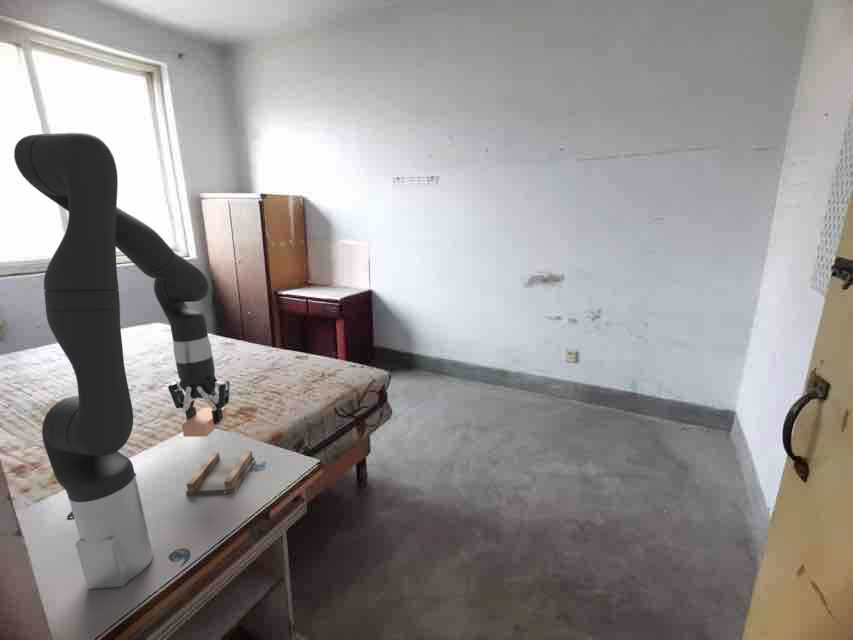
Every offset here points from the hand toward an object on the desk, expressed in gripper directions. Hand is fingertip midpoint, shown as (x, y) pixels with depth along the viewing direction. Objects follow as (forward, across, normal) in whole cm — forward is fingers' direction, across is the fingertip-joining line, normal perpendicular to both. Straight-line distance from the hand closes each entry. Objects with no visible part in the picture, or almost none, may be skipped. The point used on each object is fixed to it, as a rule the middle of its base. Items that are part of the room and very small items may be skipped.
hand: (205, 422), depth 98 cm
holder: (+14, -2, +1) cm, 15 cm away
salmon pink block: (+1, 0, 0) cm, 1 cm away
